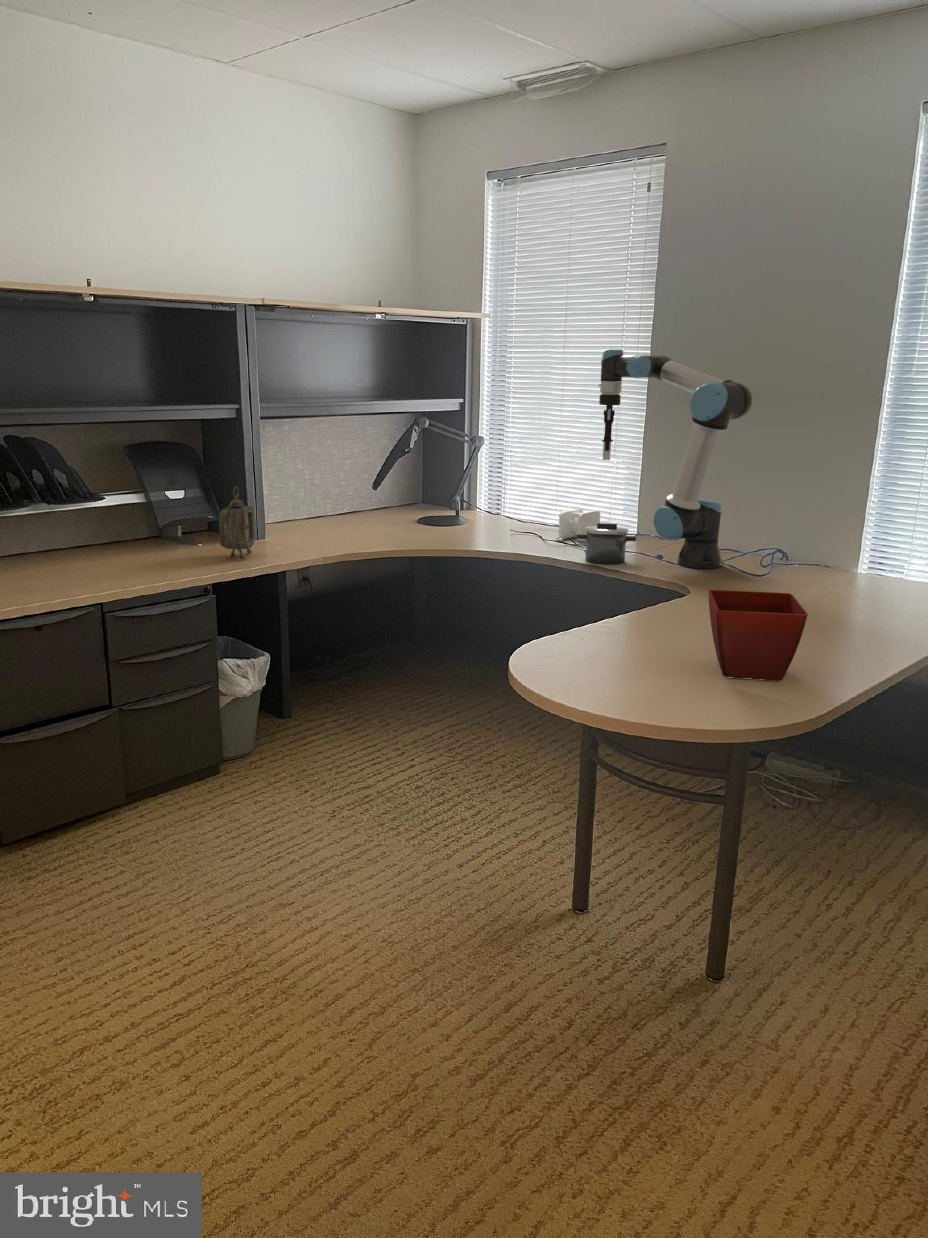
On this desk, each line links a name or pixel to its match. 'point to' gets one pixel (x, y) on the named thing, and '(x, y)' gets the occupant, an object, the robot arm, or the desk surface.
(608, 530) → the lid
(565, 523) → the cable organizer
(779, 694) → the desk surface
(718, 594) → the plant pot
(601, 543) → the pot
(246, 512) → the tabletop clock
